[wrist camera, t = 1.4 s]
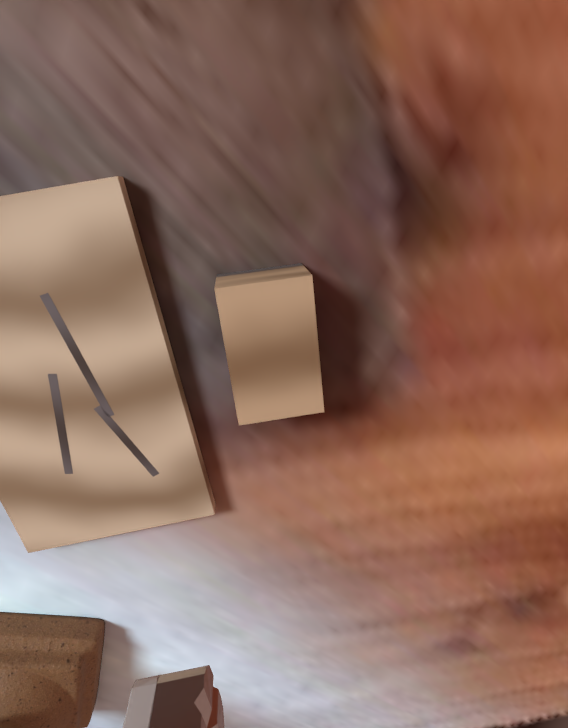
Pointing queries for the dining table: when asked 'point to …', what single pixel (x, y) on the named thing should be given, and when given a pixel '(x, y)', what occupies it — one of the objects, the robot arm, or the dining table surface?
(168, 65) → the dining table surface
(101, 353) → the board
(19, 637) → the candle holder
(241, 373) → the block
